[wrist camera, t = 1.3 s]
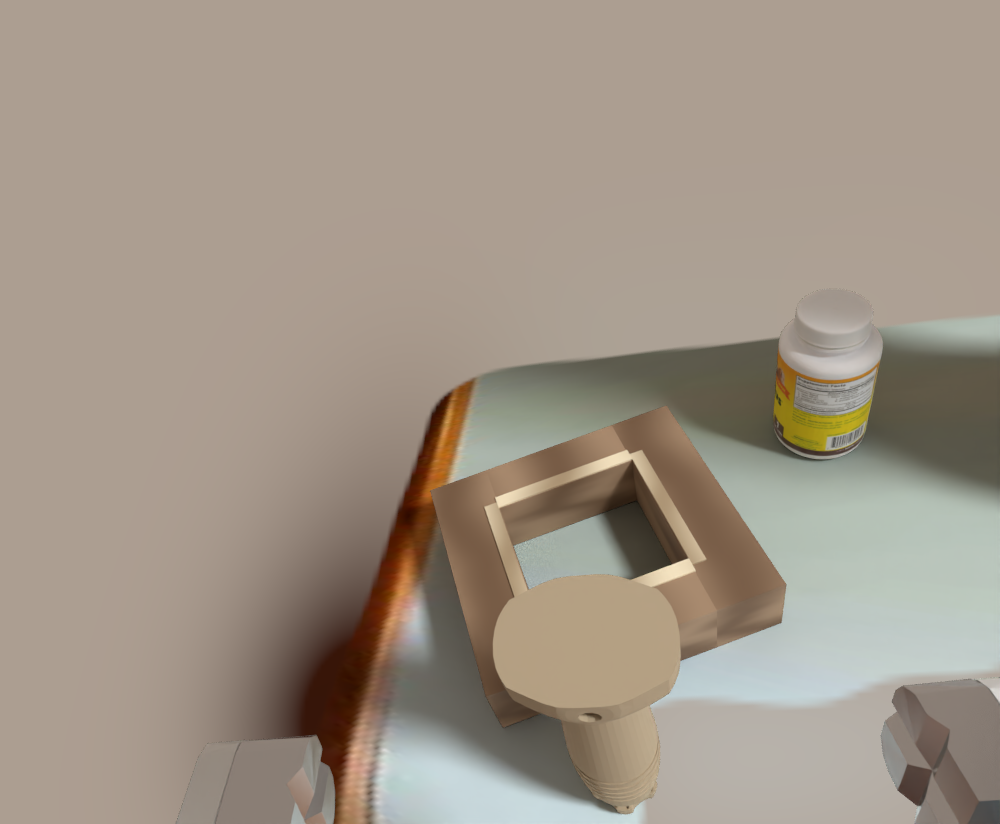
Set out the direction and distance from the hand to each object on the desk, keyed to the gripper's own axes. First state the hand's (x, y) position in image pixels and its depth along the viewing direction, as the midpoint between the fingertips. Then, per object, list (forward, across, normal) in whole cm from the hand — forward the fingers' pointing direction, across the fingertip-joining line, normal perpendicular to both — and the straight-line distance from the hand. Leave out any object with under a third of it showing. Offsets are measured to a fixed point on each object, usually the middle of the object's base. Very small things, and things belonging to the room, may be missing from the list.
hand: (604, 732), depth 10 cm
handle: (+14, -3, +25) cm, 29 cm away
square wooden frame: (+25, -3, +23) cm, 34 cm away
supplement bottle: (+32, -19, +19) cm, 42 cm away
